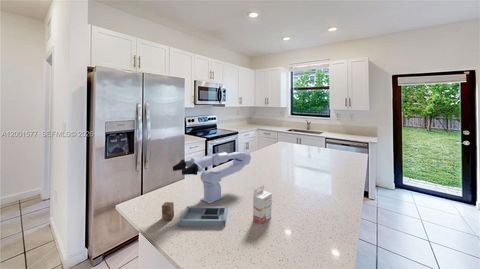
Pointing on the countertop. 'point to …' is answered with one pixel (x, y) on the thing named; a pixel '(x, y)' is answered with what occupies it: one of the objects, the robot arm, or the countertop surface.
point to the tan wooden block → (167, 211)
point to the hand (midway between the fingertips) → (177, 170)
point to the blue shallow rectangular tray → (204, 216)
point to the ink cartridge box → (261, 205)
